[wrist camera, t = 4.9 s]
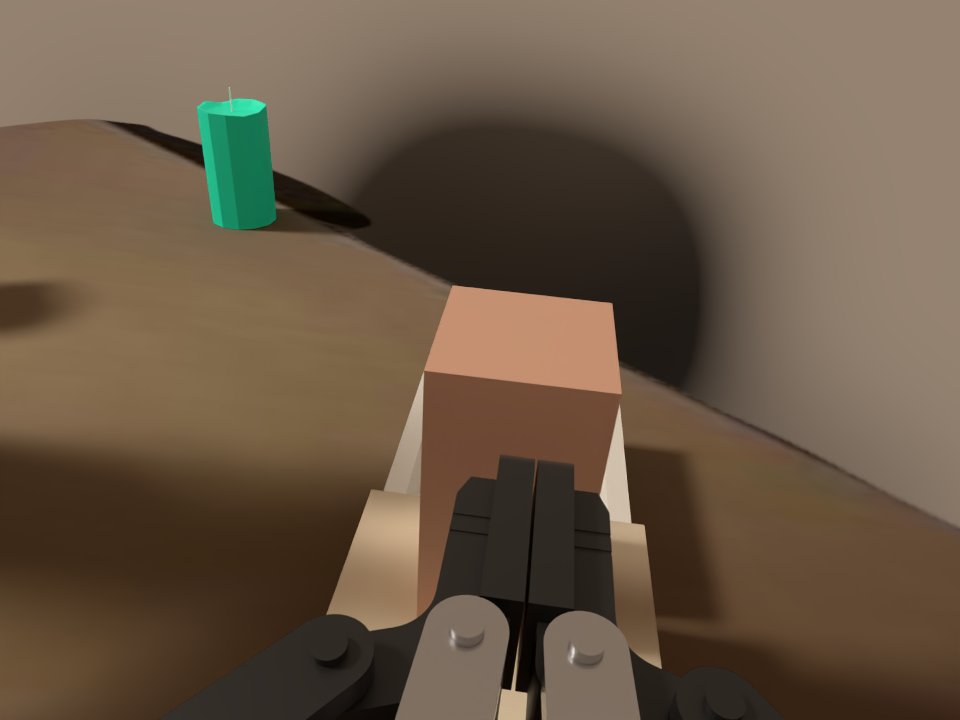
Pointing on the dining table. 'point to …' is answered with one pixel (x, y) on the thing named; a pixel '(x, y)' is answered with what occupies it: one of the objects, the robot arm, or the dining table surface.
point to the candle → (238, 163)
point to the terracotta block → (511, 400)
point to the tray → (410, 448)
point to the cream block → (394, 580)
